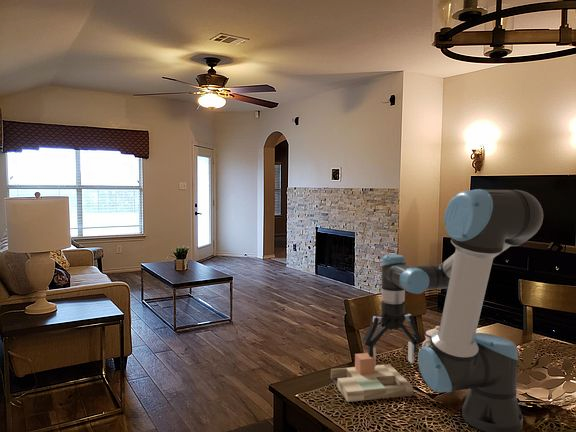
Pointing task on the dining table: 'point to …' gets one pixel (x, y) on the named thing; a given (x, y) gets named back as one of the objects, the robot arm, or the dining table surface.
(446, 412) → the dining table surface
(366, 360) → the block
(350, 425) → the dining table surface
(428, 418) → the dining table surface
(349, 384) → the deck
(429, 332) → the teacup with lid
